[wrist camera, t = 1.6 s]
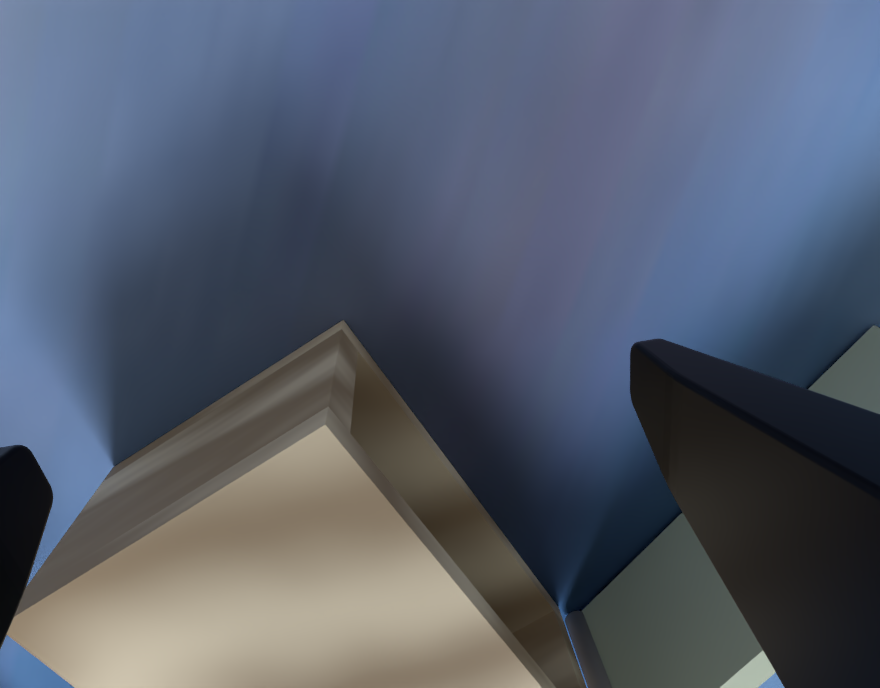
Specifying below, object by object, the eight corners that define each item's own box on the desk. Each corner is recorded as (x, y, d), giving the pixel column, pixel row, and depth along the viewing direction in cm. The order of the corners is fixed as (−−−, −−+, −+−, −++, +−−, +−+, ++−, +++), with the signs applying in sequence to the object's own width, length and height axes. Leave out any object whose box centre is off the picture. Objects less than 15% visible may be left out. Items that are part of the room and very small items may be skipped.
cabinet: (558, 607, 29) (618, 780, 22) (364, 712, 31) (358, 908, 23) (343, 319, 23) (325, 424, 16) (113, 467, 25) (-3, 626, 17)
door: (601, 643, 30) (661, 793, 24) (560, 619, 29) (610, 768, 23) (905, 354, 26) (1082, 442, 19) (866, 318, 25) (1037, 396, 18)
